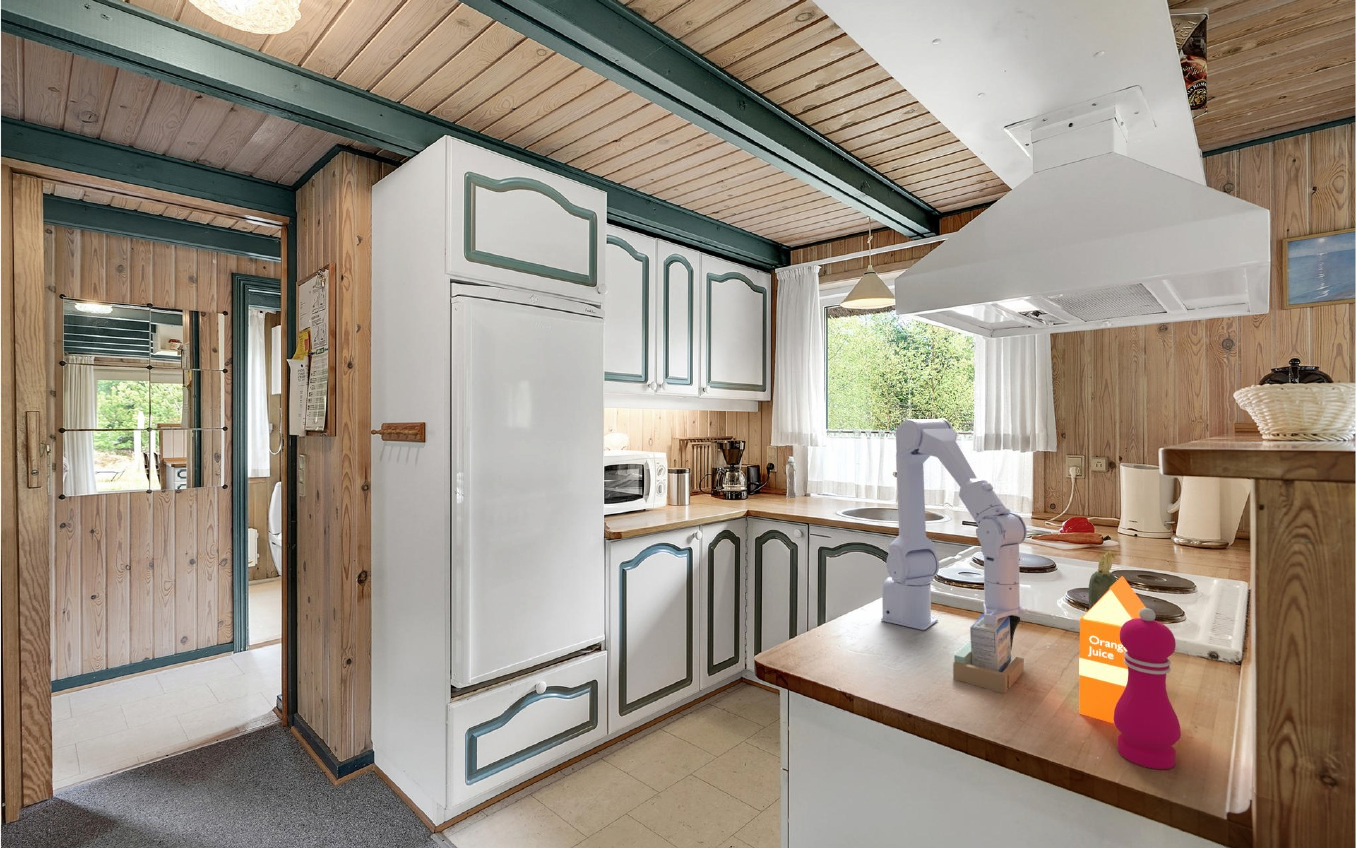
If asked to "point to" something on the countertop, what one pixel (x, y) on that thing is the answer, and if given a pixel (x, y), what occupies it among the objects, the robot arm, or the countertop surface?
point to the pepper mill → (1147, 694)
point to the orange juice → (1105, 651)
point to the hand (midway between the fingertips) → (1002, 654)
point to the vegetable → (1101, 579)
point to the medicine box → (991, 644)
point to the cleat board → (985, 672)
